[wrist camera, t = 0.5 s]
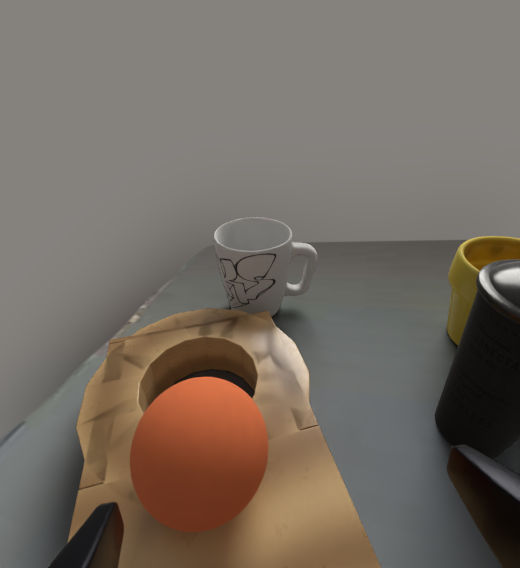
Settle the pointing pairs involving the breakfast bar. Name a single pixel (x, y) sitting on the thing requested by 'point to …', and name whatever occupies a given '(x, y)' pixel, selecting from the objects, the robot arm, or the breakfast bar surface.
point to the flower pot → (473, 275)
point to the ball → (199, 454)
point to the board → (281, 453)
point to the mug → (259, 263)
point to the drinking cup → (486, 367)
